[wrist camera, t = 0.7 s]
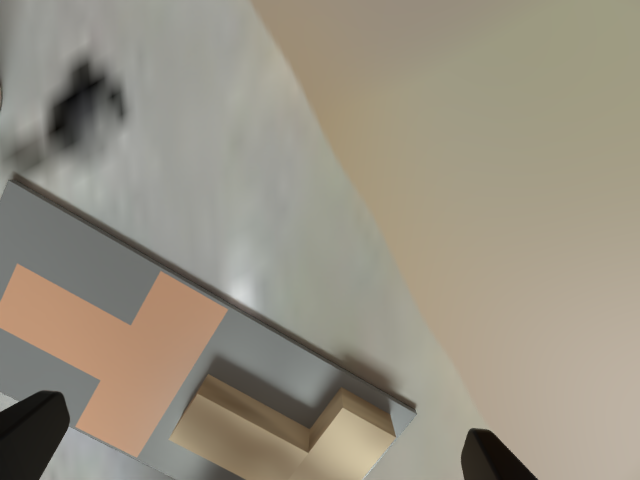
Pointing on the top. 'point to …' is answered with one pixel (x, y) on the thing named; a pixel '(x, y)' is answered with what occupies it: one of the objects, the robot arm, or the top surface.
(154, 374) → the grey flat panel
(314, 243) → the top surface
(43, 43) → the top surface
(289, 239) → the top surface
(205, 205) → the top surface
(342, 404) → the oak T block
